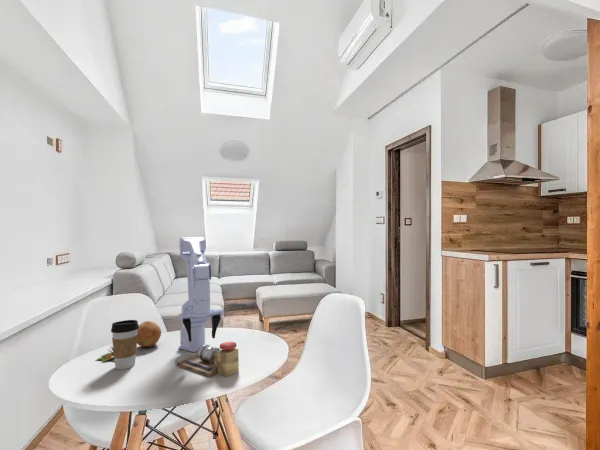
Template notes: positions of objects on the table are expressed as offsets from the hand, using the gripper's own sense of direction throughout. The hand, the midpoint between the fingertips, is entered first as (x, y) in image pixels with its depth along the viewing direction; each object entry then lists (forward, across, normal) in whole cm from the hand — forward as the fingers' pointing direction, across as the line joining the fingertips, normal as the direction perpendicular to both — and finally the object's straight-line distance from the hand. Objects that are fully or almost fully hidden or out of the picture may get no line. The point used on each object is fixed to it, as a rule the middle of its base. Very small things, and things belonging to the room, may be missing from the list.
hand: (201, 339), depth 109 cm
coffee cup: (+9, -24, +10) cm, 28 cm away
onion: (+9, -17, +28) cm, 34 cm away
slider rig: (+8, +2, -4) cm, 9 cm away
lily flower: (+9, -28, +22) cm, 37 cm away
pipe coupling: (+7, +1, -2) cm, 7 cm away
